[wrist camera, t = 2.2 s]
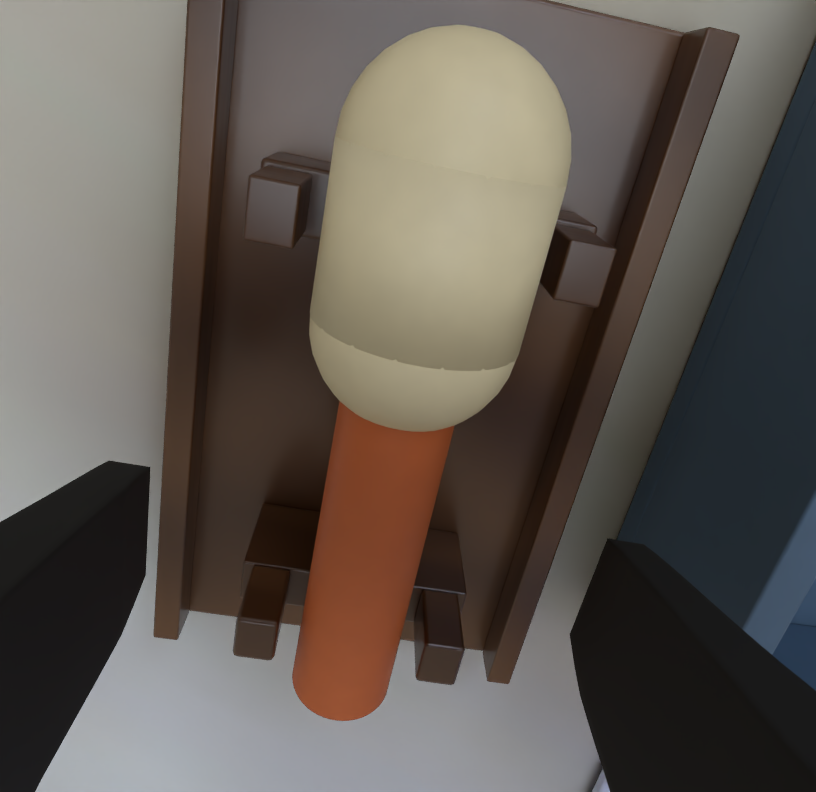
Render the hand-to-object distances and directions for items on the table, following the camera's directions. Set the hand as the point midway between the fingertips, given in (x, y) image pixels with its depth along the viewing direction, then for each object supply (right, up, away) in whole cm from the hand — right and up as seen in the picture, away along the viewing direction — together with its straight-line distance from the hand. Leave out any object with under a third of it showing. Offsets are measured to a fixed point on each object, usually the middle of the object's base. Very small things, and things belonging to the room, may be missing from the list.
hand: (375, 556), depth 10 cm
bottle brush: (0, +2, +1) cm, 2 cm away
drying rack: (0, +3, +5) cm, 6 cm away
